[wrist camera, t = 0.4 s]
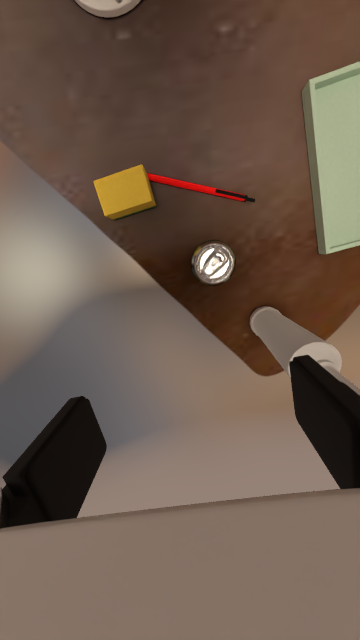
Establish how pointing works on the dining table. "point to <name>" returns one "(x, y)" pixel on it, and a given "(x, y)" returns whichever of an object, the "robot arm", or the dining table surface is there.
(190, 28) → the dining table surface
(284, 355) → the bottle
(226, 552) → the robot arm
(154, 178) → the pen
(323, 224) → the tray
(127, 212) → the sponge
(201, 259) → the soda can
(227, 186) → the dining table surface
